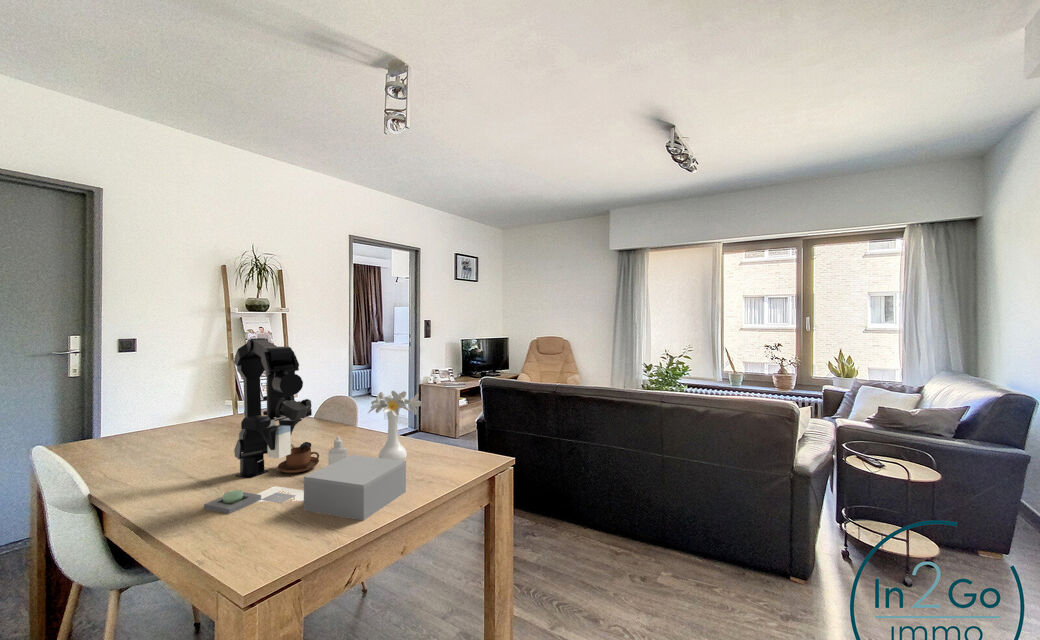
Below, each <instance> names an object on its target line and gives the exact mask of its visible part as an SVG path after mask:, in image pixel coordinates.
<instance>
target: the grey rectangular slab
mask: <svg viewBox="0 0 1040 640" xmlns="http://www.w3.org/2000/svg"><path fill="white" fill-rule="evenodd" d="M303 491H304V501H303V511H305V512H311V513H315V514H316V513H317V514H324V515H330V516H333V517H340V518H348V519H353V520H360V521H365V520H367V519H368V518H370V517H371V516H373V515H374V514H376V513H377V512H379V511H380V510H382V509H383V508H385V507H386V506H387V505H389V504H390V503H392V502H393V501H395V500H396V499H398V498H399V497H401V496H402V495H404V494H405V493H406V492H407V462H406V460H404V461H401V460H392V459H384V458H378V457H374V456H373V457H372V456H366V455H365V456H364V455H357V454H356V455H355V454H351V455H348V457H346V458H344V459H342V460H340V461H337V462H335V463H333V464H331V465H327V466H324V467H322V468H320V469H318V470H315V471H313V472H311V473H309V474H306V475H304V476H303Z"/></svg>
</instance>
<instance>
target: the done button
mask: <svg viewBox="0 0 1040 640" xmlns="http://www.w3.org/2000/svg"><path fill="white" fill-rule="evenodd" d="M243 492H244V490H239V489H237V490H230V491H227V492H225V493H224V494H222V497H223V502H224V503H225V504H234V503H237V502H239V501H241V500H242V499H243Z"/></svg>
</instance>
